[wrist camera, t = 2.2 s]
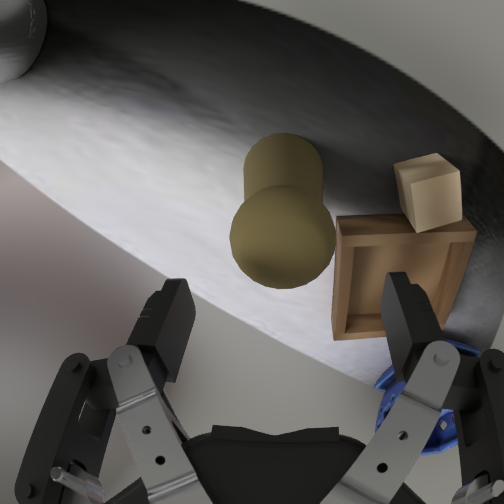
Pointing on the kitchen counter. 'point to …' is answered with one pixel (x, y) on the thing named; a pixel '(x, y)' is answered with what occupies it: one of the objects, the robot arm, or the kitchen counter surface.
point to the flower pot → (448, 436)
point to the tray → (393, 268)
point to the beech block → (429, 191)
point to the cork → (283, 215)
